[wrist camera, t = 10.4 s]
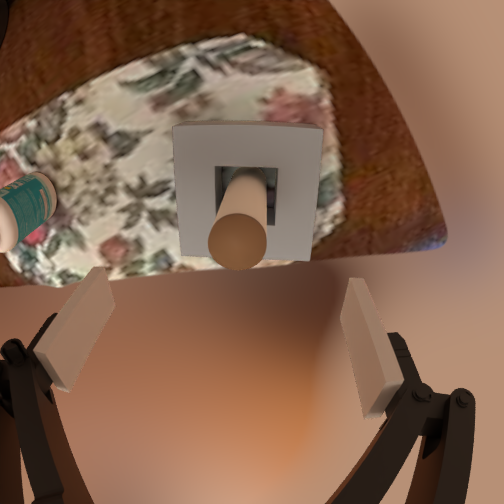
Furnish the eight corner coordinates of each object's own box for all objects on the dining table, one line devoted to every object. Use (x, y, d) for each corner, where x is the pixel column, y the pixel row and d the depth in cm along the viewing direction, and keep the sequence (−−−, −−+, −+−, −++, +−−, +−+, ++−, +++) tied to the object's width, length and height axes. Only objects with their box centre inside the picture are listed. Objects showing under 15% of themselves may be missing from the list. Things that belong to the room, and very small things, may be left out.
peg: (230, 164, 33) (206, 217, 20) (267, 165, 32) (268, 219, 19) (231, 198, 35) (209, 268, 22) (265, 199, 34) (265, 271, 21)
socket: (185, 121, 30) (172, 126, 26) (314, 124, 30) (323, 129, 26) (191, 235, 37) (181, 255, 33) (304, 239, 37) (309, 261, 32)
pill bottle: (43, 160, 32) (-26, 197, 21) (67, 205, 36) (6, 253, 24) (17, 186, 34) (-44, 225, 22) (39, 226, 37) (-16, 273, 26)
